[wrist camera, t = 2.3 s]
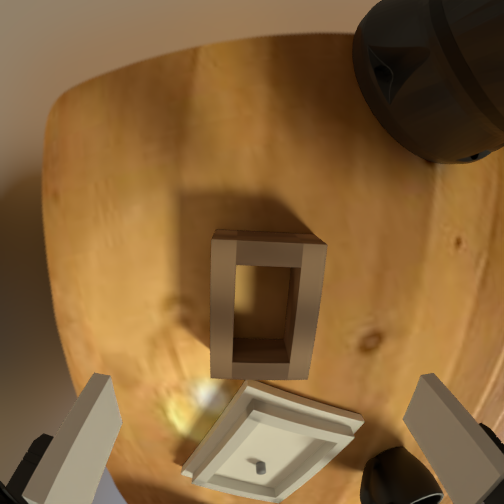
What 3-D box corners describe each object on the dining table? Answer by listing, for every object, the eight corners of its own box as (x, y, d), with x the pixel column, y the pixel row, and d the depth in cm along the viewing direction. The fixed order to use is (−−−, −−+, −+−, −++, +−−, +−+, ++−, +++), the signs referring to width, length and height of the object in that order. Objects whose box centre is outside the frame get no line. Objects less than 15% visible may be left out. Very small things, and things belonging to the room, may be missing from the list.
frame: (215, 229, 21) (211, 239, 18) (314, 234, 22) (327, 244, 18) (214, 352, 24) (210, 378, 20) (299, 354, 24) (307, 379, 21)
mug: (375, 426, 27) (406, 490, 18) (425, 445, 29) (454, 493, 20) (323, 467, 28) (340, 530, 19) (381, 481, 30) (401, 529, 21)
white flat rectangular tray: (247, 377, 24) (248, 397, 22) (361, 414, 26) (369, 431, 24) (182, 466, 27) (179, 484, 25) (279, 491, 29) (281, 507, 27)
